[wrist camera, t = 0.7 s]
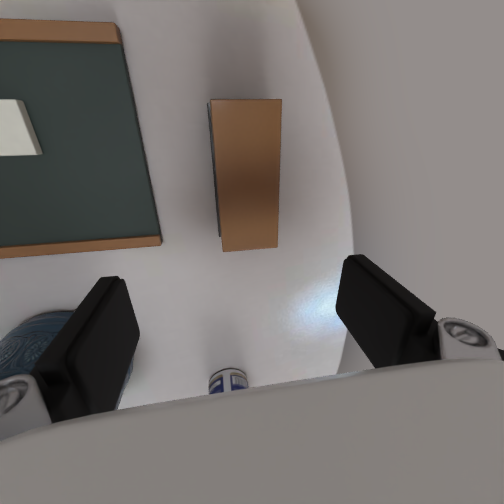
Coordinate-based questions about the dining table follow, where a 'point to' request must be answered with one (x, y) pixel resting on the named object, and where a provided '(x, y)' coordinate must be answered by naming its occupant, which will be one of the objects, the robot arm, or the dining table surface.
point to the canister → (35, 345)
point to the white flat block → (16, 130)
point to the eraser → (246, 170)
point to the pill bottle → (227, 381)
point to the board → (73, 143)
